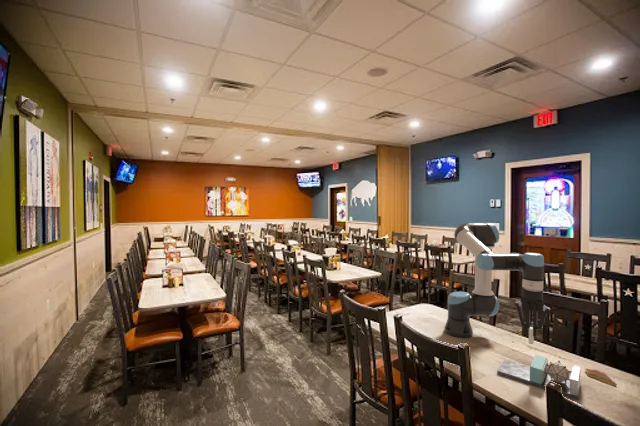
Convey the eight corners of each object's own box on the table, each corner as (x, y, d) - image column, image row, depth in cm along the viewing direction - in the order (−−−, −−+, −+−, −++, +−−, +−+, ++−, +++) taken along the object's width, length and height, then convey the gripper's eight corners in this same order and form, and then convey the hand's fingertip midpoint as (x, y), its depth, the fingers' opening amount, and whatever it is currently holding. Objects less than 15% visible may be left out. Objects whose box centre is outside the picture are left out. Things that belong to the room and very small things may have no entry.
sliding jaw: (535, 367, 140) (535, 354, 139) (547, 371, 137) (547, 358, 136) (529, 380, 129) (529, 366, 129) (542, 384, 126) (543, 370, 126)
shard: (617, 388, 128) (617, 383, 128) (594, 384, 130) (594, 380, 130) (602, 374, 138) (602, 370, 138) (581, 371, 140) (581, 367, 140)
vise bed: (504, 362, 148) (505, 346, 148) (580, 384, 129) (580, 367, 129) (497, 373, 138) (497, 357, 137) (577, 400, 119) (578, 380, 119)
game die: (563, 392, 127) (580, 381, 121) (542, 383, 129) (557, 371, 123) (559, 373, 134) (574, 361, 128) (538, 364, 136) (552, 352, 130)
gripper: (513, 288, 136) (511, 341, 137) (549, 294, 127) (548, 350, 128) (516, 284, 141) (515, 335, 142) (552, 290, 132) (550, 344, 133)
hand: (531, 342), depth 135 cm, fingers closed
